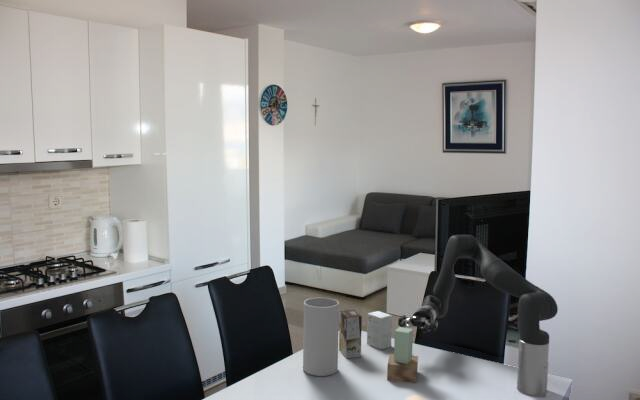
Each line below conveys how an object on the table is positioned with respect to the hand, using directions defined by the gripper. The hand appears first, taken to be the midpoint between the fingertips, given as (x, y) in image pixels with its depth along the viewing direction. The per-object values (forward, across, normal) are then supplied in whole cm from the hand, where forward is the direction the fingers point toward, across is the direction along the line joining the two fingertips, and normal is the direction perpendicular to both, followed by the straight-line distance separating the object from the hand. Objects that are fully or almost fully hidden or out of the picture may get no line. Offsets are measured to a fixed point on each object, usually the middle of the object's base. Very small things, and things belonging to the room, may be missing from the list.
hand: (412, 328), depth 206 cm
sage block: (+11, 0, +8) cm, 14 cm away
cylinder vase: (+20, -28, +14) cm, 37 cm away
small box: (-14, -18, +14) cm, 27 cm away
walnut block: (+11, 0, +14) cm, 18 cm away
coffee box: (0, -25, +14) cm, 29 cm away
